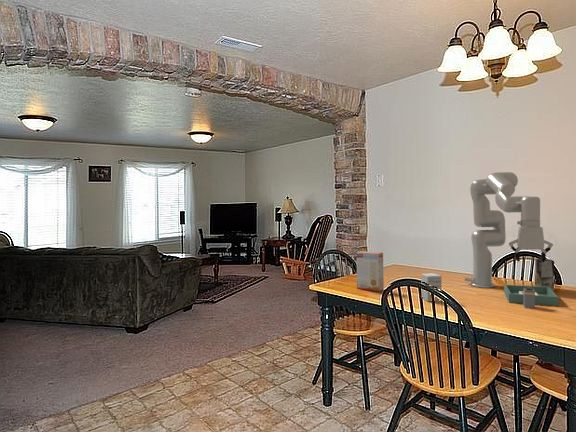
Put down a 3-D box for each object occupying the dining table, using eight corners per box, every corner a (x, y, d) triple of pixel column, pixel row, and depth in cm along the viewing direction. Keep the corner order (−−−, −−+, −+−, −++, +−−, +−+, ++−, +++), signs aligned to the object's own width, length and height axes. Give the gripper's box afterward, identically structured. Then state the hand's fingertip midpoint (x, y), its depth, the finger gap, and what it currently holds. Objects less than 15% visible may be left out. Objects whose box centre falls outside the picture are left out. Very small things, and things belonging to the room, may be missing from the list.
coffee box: (554, 291, 215) (554, 260, 214) (541, 291, 216) (541, 260, 215) (547, 287, 224) (547, 258, 223) (534, 287, 225) (534, 258, 224)
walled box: (508, 302, 195) (508, 293, 194) (503, 292, 215) (504, 284, 215) (558, 305, 187) (558, 297, 187) (548, 295, 207) (548, 287, 207)
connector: (524, 307, 185) (524, 288, 185) (523, 305, 189) (523, 286, 188) (534, 308, 184) (535, 289, 183) (533, 306, 187) (533, 287, 187)
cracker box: (384, 290, 225) (383, 252, 224) (378, 292, 221) (378, 253, 220) (362, 286, 235) (362, 250, 234) (356, 288, 230) (356, 251, 230)
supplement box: (421, 298, 206) (420, 273, 205) (435, 297, 206) (435, 272, 206) (427, 302, 198) (427, 276, 198) (442, 301, 199) (441, 275, 198)
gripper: (509, 224, 185) (509, 262, 185) (554, 224, 178) (554, 263, 179) (507, 223, 192) (507, 259, 192) (551, 223, 185) (550, 261, 186)
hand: (530, 261), depth 186 cm, fingers open, 9 cm apart
